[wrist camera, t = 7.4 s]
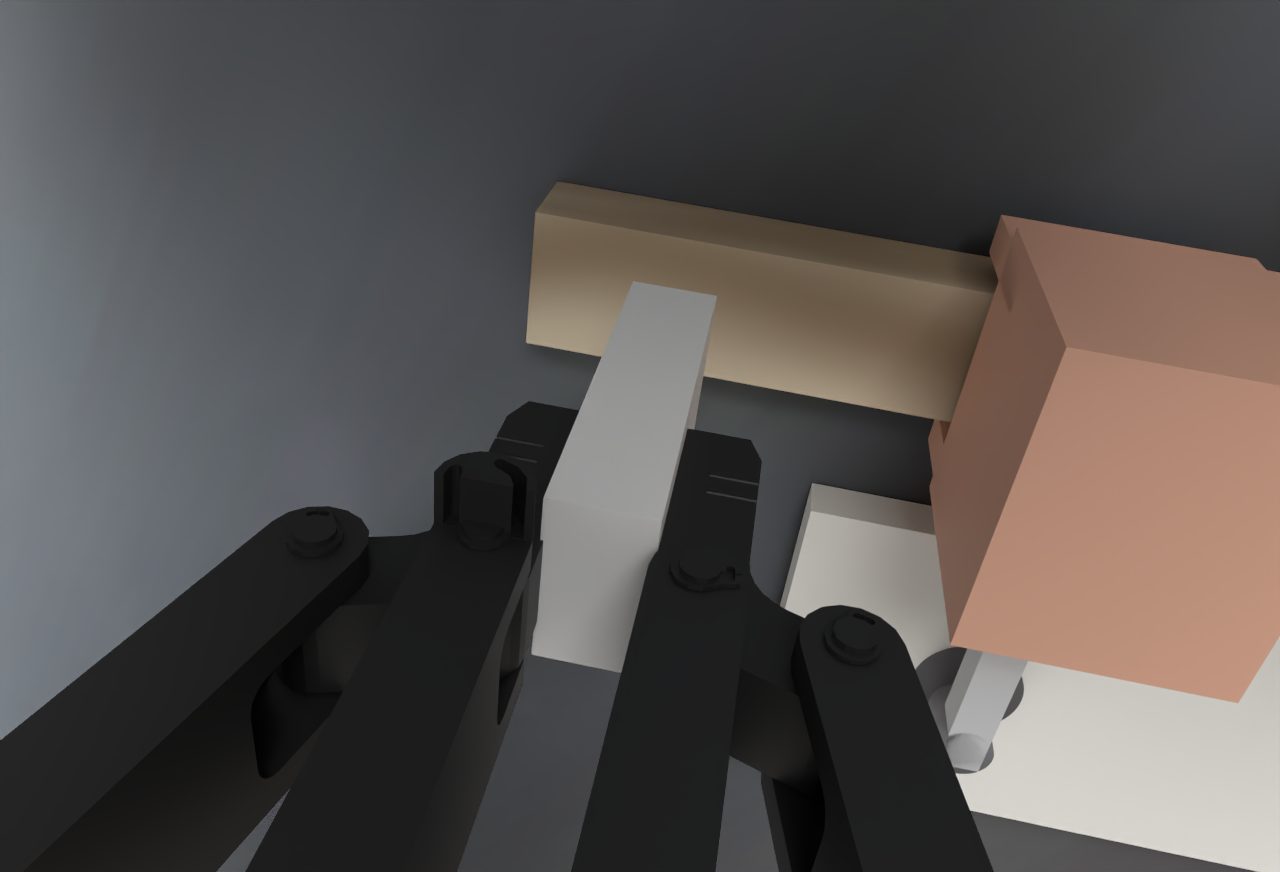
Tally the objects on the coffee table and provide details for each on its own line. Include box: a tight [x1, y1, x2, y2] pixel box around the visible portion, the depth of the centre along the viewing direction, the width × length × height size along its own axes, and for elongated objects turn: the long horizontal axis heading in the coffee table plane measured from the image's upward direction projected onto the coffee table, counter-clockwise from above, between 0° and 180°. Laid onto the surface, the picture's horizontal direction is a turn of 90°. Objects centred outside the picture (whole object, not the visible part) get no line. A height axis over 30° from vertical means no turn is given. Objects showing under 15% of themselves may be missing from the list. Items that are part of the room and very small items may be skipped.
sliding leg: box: [928, 215, 1280, 774], centre depth 21 cm, size 13×5×6 cm, turn 173°
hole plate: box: [780, 483, 1280, 872], centre depth 27 cm, size 9×22×1 cm, turn 83°
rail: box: [526, 181, 999, 422], centre depth 22 cm, size 13×29×7 cm, turn 83°
